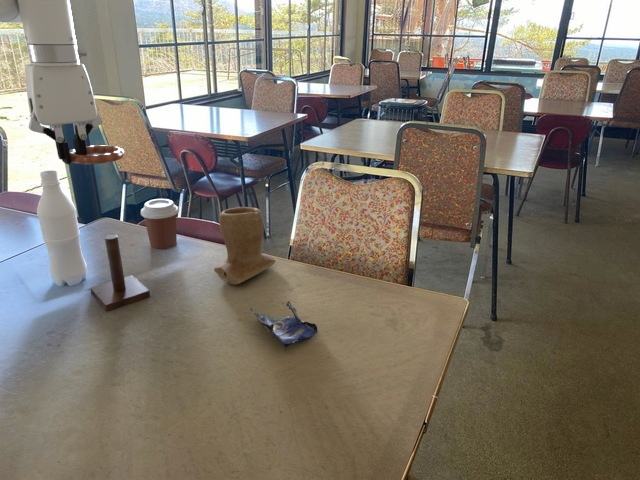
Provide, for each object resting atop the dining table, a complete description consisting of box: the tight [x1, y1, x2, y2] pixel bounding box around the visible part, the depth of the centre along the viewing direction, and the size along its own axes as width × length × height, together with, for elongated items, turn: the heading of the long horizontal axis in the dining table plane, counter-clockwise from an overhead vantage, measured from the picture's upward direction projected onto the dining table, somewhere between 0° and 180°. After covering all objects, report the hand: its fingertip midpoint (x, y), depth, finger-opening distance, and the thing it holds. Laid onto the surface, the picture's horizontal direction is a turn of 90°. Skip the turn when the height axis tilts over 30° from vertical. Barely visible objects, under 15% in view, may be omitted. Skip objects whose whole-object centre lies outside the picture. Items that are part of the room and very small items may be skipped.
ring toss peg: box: [89, 234, 151, 312], centre depth 99 cm, size 9×9×14 cm
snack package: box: [250, 300, 319, 351], centre depth 90 cm, size 12×6×12 cm
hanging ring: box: [69, 144, 125, 165], centre depth 92 cm, size 10×10×2 cm
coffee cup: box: [140, 198, 180, 251], centre depth 122 cm, size 9×9×12 cm
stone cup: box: [213, 206, 276, 285], centre depth 110 cm, size 15×12×15 cm
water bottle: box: [36, 170, 88, 287], centre depth 101 cm, size 7×7×25 cm
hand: (73, 160), depth 89 cm, fingers closed on hanging ring, 2 cm apart
